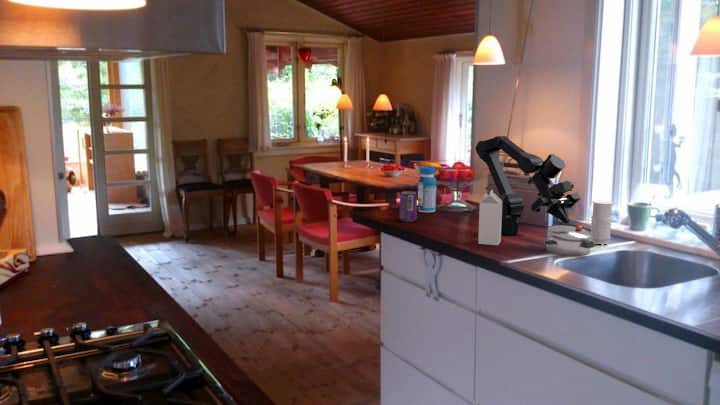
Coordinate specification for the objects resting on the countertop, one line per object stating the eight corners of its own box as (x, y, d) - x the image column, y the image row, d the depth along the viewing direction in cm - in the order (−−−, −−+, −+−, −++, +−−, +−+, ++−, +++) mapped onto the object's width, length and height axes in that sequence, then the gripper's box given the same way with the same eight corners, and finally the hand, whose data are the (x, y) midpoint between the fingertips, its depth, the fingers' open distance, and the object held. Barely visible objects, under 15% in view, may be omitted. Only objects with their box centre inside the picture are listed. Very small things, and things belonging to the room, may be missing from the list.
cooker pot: (531, 249, 221) (532, 235, 220) (572, 243, 230) (573, 229, 229) (567, 260, 207) (568, 245, 206) (610, 253, 216) (611, 238, 216)
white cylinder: (585, 241, 232) (588, 201, 230) (600, 240, 235) (603, 199, 232) (598, 246, 226) (601, 204, 224) (614, 244, 229) (617, 203, 226)
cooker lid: (538, 230, 221) (538, 223, 220) (567, 226, 228) (568, 219, 227) (570, 243, 209) (571, 236, 208) (600, 238, 216) (601, 231, 215)
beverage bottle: (430, 213, 285) (431, 168, 281) (413, 211, 289) (414, 167, 286) (439, 210, 292) (440, 166, 288) (422, 208, 296) (423, 165, 293)
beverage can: (419, 220, 270) (420, 192, 268) (411, 223, 264) (412, 194, 262) (404, 218, 274) (405, 190, 272) (396, 221, 268) (396, 192, 266)
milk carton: (500, 241, 233) (502, 189, 229) (498, 245, 226) (500, 192, 223) (481, 239, 235) (482, 188, 232) (478, 244, 228) (479, 191, 225)
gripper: (538, 174, 215) (562, 211, 208) (577, 170, 225) (601, 206, 217) (521, 193, 224) (542, 230, 216) (559, 189, 233) (581, 225, 225)
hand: (567, 222), depth 218 cm, fingers closed
